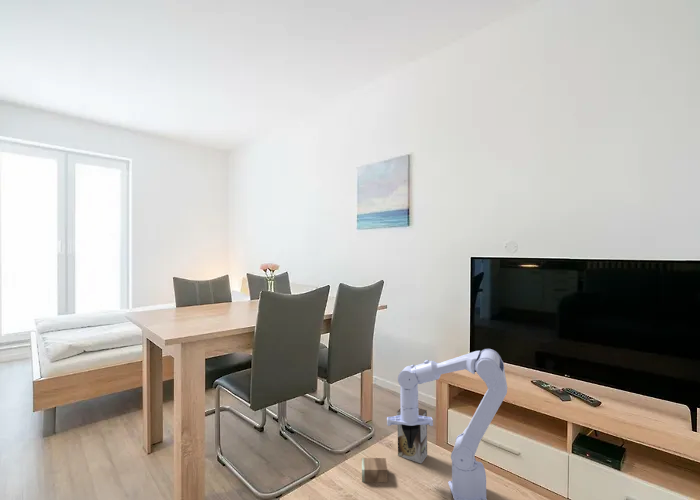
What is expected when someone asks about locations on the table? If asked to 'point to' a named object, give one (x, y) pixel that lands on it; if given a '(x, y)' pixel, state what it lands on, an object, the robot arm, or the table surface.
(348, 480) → the table surface
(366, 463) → the wooden block
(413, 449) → the coffee box
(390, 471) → the table surface
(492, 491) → the table surface
